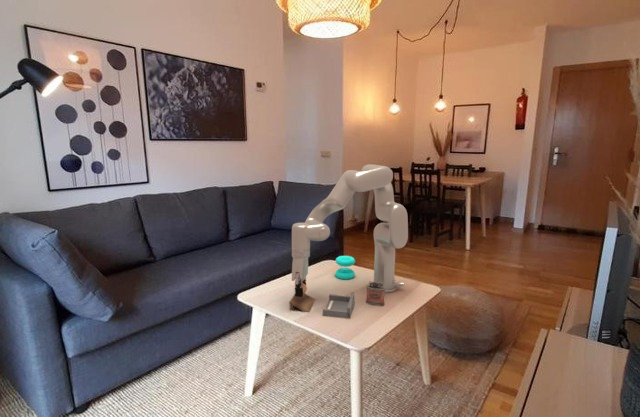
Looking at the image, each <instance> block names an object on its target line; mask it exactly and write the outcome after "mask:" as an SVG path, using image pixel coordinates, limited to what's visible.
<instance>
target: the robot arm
mask: <svg viewBox="0 0 640 417" xmlns="http://www.w3.org/2000/svg"><path fill="white" fill-rule="evenodd" d="M393 178H394V172H393V170H392V169H391V168H390V167H389V166H386V165H380V164H379V165H378V164H366V165H363V167H362V168H361V170H355V169H348V170H346V171H345V172H343V174H342V175H341V176H340V178H339V180H338V181H336V182H337V183H336V184H335V186H334V187H333V188H332V190H331V192H330V193H329V194H328V196H327V197H326V198H325V199H323V200H322V201H321V202H319V204H317V205H316V206H315V207H314V208H313V209H312V210H311V212H310V213H309V215H308V216H307V218H306V220H305V221H304V222H296V223H293V224H292V226H291V257H292V264H291V266H292V267H291V281H293V282H294V294H295V296H297V297H302V296H303V288H302V283H304V284H305V285H306V286H307V276H308V274H309V258H310V257H311V241H314V242H322V241H325V240H327V239H328V238H329V237H330V235H331V231H330V230H331V229H330V227H329V225H327V224H325V223H324V221H325V220H326V218H328V217H329V216H330V215H331V214H333V213H336V212H338V211H341V210H343V209H345V207H346V206H347V205H348V203H349V201H351V199H352V197H353V196H354V194H355V193H356V192H359V193H363V192H364V193H365V192H369V191H372V190H373V194H374V205H375V206H374V210H375V216H376V218H377V219H379V220H380V221H381V222H380V223H378V224H377V225H376V226H375V227H374V229H373V241H374V242H373V243H374V264H373V265H374V268H373V281H372V282H374V281H377V282H381V283H384V286H381V287H384V288H385V293H386V294H387V293H393V292H396V291H397V289H398V287H404V282H402V281H401V280H397V279H396V278H395V267H396V266H395V265H396V249H397V250H398V249H402V248H404V247H405V246H406V244H407V243H408V240H409V222H408V220H409V218H408V217H409V216H408V212H407V209H406V208H405V207H404V205H403V204H401V203H398V202H395V196H394V187H393V184H392V182H393ZM382 221H383V222H382ZM300 282H301V283H300Z"/></svg>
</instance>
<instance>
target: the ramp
mask: <svg viewBox="0 0 640 417" xmlns="http://www.w3.org/2000/svg"><path fill="white" fill-rule="evenodd" d="M315 302H316V298H314V297H311V296H310V295H308V294H306V292H305V293H304V294H303V296H302V297H297V296H295V293H294V295H293V296H292V298H291V299H290V300H289V302H288V303H289V311H294V310H295V308H296V309H298V310H300V311H302V312H303V313H310V312H311V311H312V308H313V307H314V304H315Z"/></svg>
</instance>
